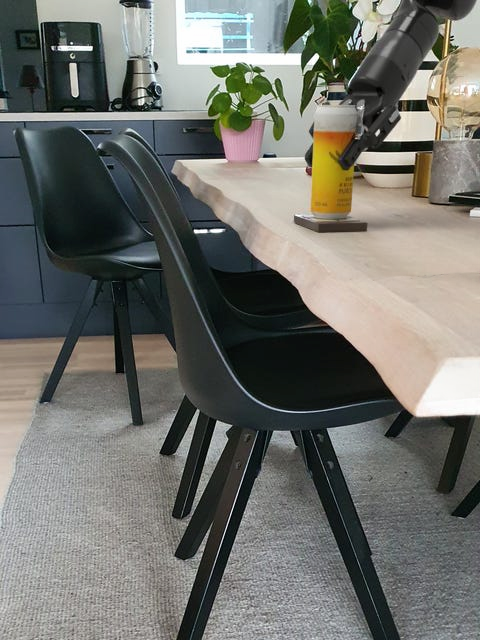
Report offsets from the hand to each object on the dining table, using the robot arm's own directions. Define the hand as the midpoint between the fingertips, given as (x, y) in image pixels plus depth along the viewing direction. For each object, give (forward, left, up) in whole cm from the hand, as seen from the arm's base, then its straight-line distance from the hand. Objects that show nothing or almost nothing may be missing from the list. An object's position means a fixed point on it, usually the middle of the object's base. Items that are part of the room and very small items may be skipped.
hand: (325, 164), depth 115 cm
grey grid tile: (-1, -1, -9) cm, 9 cm away
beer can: (-2, -1, -7) cm, 8 cm away
